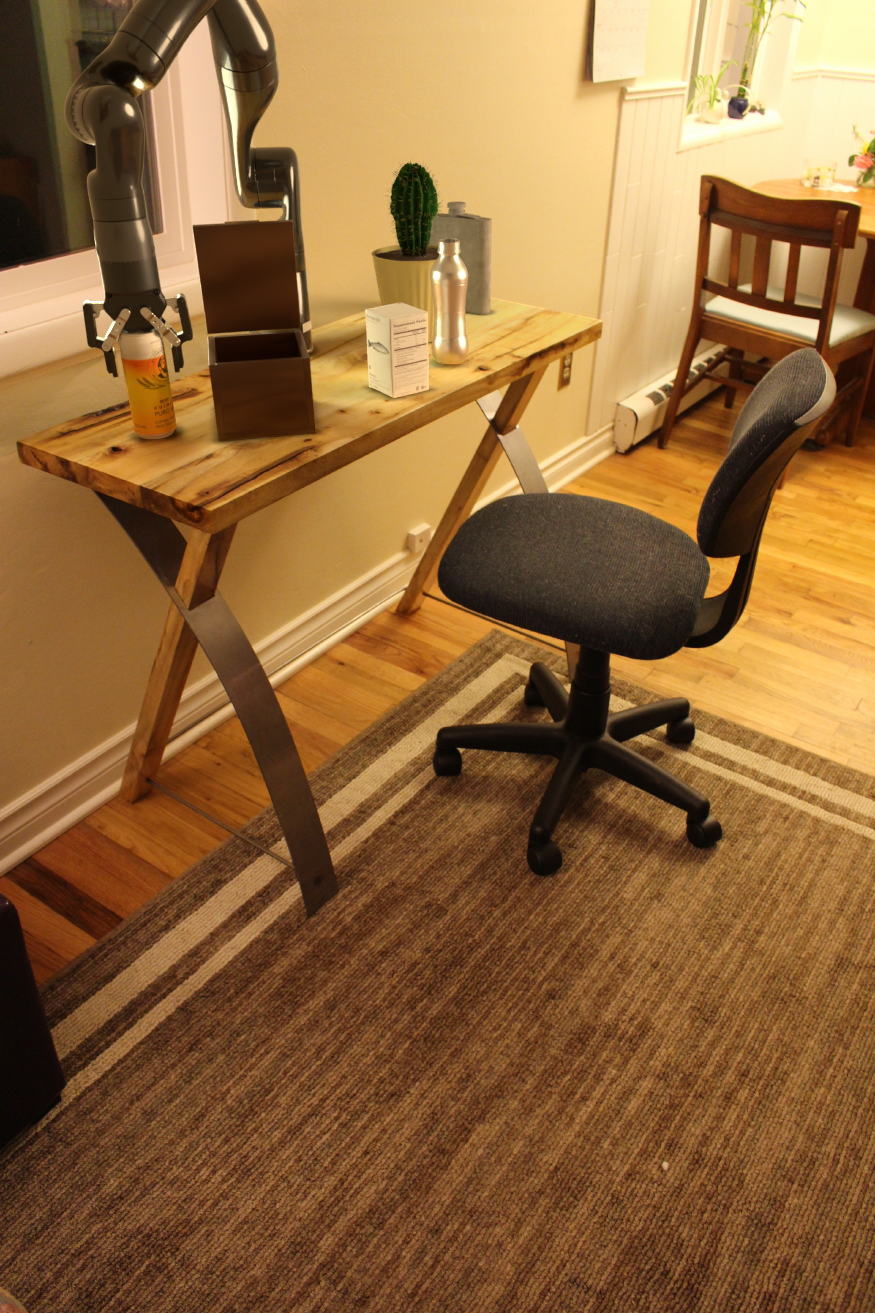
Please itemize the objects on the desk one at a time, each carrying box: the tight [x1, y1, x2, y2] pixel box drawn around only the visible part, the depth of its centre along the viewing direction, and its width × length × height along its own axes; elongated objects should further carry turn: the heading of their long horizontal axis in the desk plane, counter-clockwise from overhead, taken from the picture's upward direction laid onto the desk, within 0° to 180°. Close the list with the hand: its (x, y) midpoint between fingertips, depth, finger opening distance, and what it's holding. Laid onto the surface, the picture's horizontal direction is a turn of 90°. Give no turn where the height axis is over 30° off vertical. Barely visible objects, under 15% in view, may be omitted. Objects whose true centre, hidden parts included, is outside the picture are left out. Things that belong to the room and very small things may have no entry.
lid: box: [191, 219, 301, 335], centre depth 151 cm, size 16×14×6 cm
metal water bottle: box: [430, 238, 470, 365], centre depth 172 cm, size 6×7×20 cm
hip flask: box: [429, 201, 492, 316], centre depth 203 cm, size 16×4×20 cm, turn 58°
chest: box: [207, 330, 317, 442], centre depth 152 cm, size 15×14×11 cm
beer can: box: [117, 328, 177, 440], centre depth 147 cm, size 6×6×15 cm
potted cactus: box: [371, 159, 444, 343], centre depth 184 cm, size 15×15×30 cm
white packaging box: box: [364, 303, 430, 399], centre depth 163 cm, size 7×7×13 cm
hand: (147, 373), depth 146 cm, fingers open, 8 cm apart
